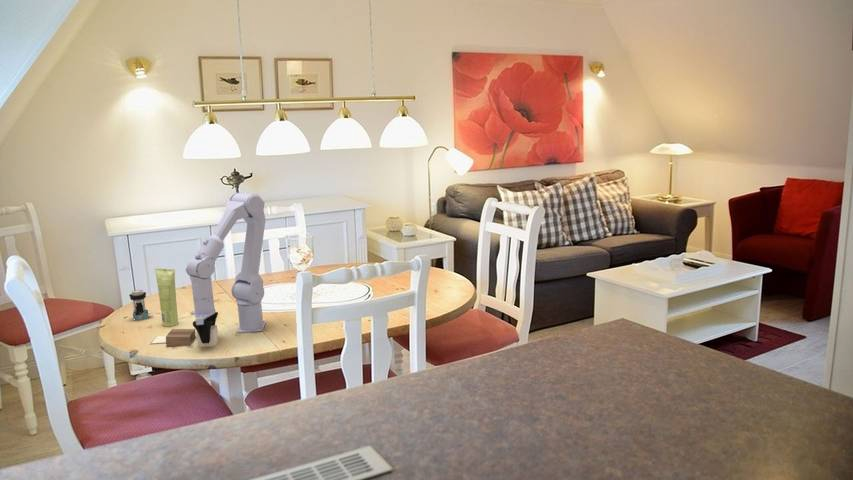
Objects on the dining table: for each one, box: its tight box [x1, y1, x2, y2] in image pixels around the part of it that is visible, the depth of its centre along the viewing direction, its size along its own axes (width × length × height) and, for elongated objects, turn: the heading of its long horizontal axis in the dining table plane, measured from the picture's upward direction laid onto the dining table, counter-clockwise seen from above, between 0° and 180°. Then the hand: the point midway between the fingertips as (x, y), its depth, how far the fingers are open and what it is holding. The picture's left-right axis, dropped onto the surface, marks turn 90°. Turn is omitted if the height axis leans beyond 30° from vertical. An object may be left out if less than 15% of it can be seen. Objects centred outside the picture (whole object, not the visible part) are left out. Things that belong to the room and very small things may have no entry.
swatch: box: [149, 335, 167, 346], centre depth 209 cm, size 7×7×1 cm
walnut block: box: [165, 328, 196, 347], centre depth 206 cm, size 7×7×3 cm
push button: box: [128, 289, 154, 321], centre depth 230 cm, size 7×5×10 cm
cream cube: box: [195, 324, 219, 348], centre depth 204 cm, size 5×5×5 cm
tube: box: [154, 267, 179, 328], centre depth 222 cm, size 6×5×20 cm
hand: (208, 339), depth 204 cm, fingers closed on cream cube, 5 cm apart
